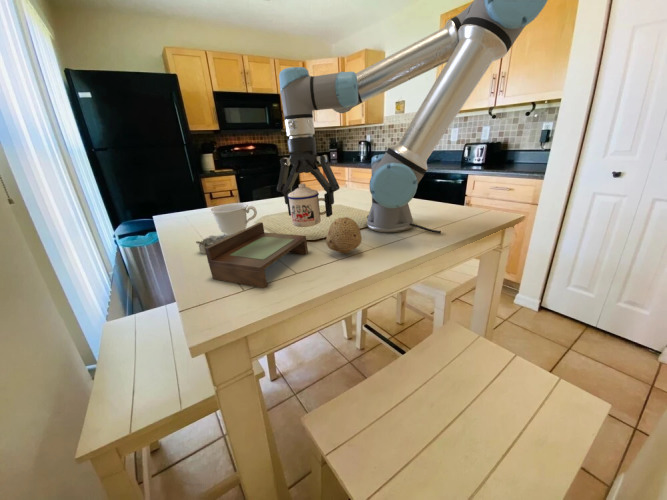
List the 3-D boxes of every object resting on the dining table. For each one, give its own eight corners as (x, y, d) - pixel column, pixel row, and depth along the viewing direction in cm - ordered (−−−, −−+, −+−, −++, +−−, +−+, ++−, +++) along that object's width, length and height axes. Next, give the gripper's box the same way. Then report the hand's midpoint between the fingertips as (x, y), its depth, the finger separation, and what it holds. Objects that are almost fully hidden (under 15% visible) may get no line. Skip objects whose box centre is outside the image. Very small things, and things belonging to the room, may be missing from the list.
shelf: (308, 252, 75) (304, 225, 72) (264, 288, 59) (257, 254, 55) (264, 247, 81) (259, 222, 78) (212, 278, 64) (204, 247, 61)
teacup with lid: (287, 228, 79) (281, 187, 75) (296, 219, 87) (291, 182, 83) (328, 226, 77) (324, 185, 72) (333, 217, 85) (330, 180, 81)
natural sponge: (369, 252, 72) (369, 216, 68) (345, 263, 67) (343, 225, 63) (346, 244, 79) (344, 211, 75) (322, 254, 73) (319, 218, 70)
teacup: (255, 239, 88) (250, 209, 85) (210, 242, 89) (203, 212, 85) (264, 228, 100) (260, 201, 96) (224, 230, 100) (218, 204, 96)
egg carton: (197, 255, 80) (193, 242, 78) (208, 245, 87) (204, 233, 85) (233, 252, 79) (230, 239, 78) (241, 243, 86) (238, 230, 85)
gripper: (256, 141, 74) (269, 217, 83) (337, 133, 65) (343, 220, 73) (272, 140, 81) (283, 210, 89) (347, 132, 71) (352, 212, 79)
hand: (310, 215), depth 81 cm, fingers closed on teacup with lid, 12 cm apart
